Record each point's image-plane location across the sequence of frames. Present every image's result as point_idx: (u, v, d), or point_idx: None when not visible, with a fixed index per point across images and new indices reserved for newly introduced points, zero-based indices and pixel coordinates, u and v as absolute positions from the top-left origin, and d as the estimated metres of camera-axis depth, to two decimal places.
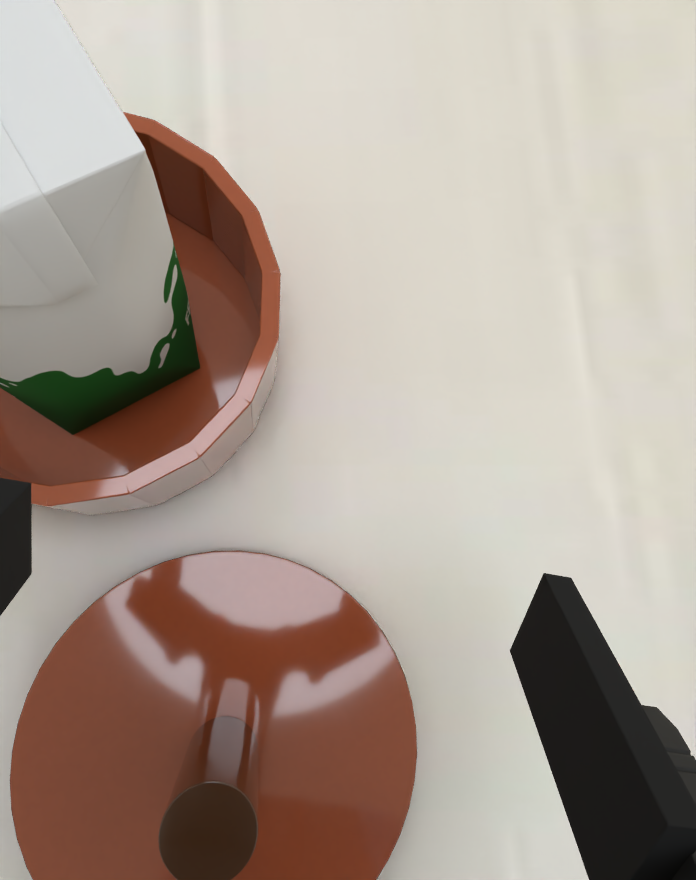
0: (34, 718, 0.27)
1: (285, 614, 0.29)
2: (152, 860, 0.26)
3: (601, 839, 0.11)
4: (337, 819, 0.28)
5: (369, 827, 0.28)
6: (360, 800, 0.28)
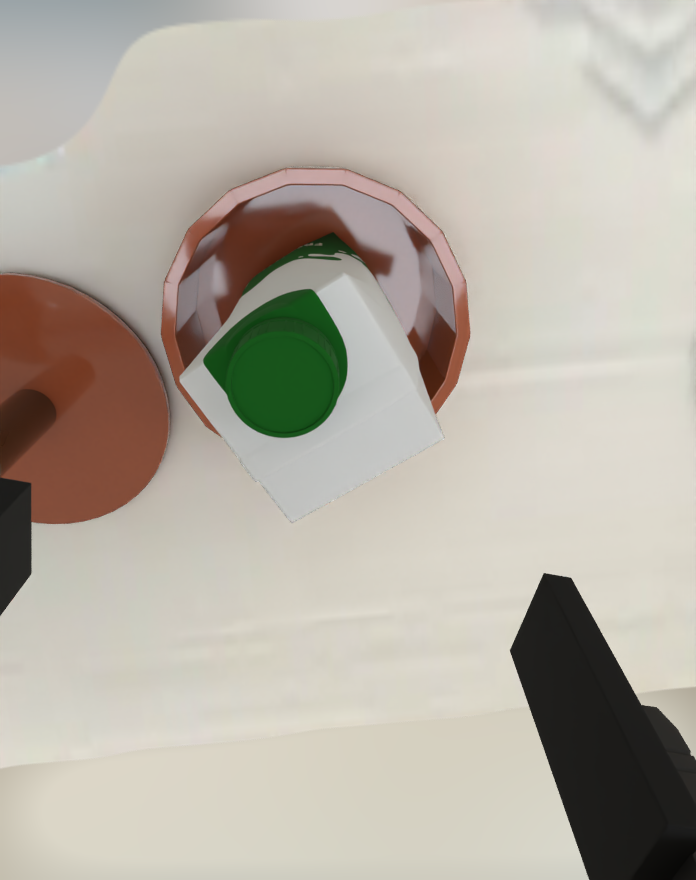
0: (32, 287, 0.38)
1: (128, 445, 0.42)
2: None
3: (600, 838, 0.11)
4: None
5: None
6: None
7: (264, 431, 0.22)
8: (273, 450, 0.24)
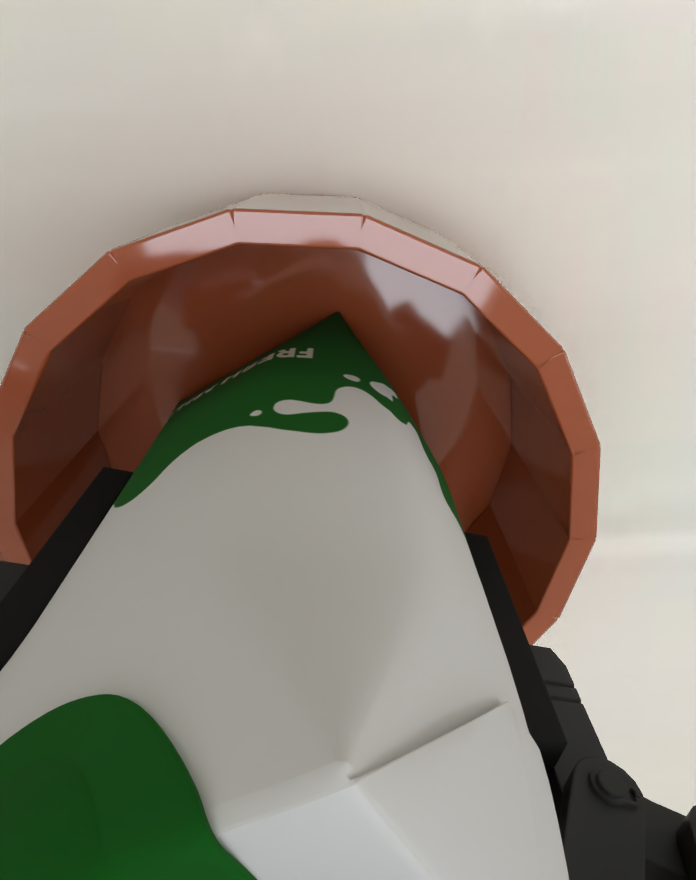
0: None
1: None
2: None
3: None
4: None
5: None
6: None
7: None
8: None
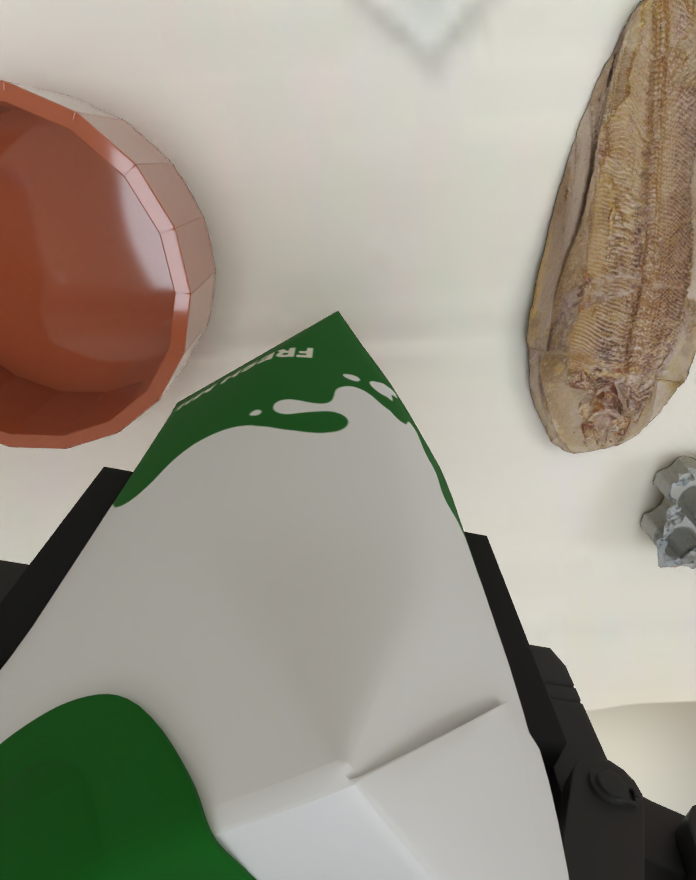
0: None
1: None
2: None
3: None
4: None
5: None
6: None
7: None
8: None
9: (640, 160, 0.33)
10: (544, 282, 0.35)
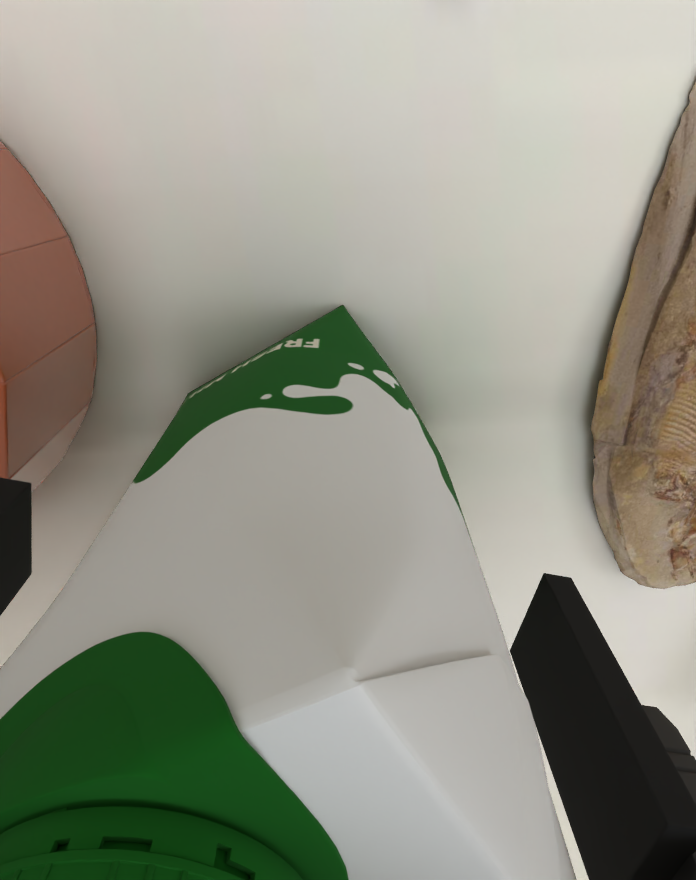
0: None
1: None
2: None
3: (601, 839, 0.11)
4: None
5: None
6: None
7: None
8: None
9: None
10: (623, 340, 0.22)
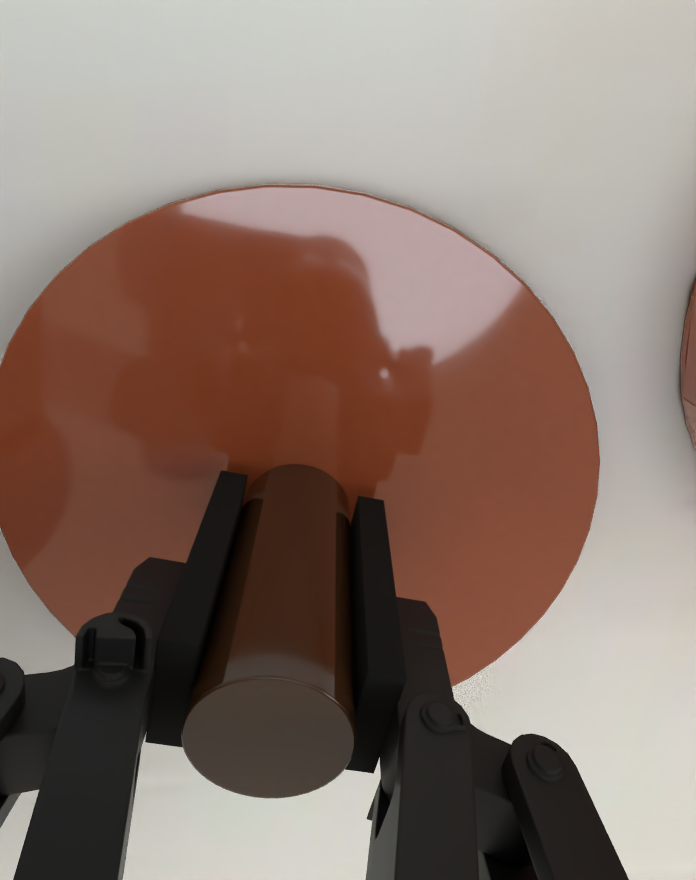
0: (369, 224, 0.15)
1: (484, 586, 0.20)
2: (145, 419, 0.17)
3: None
4: None
5: None
6: None
7: None
8: None
9: None
10: None
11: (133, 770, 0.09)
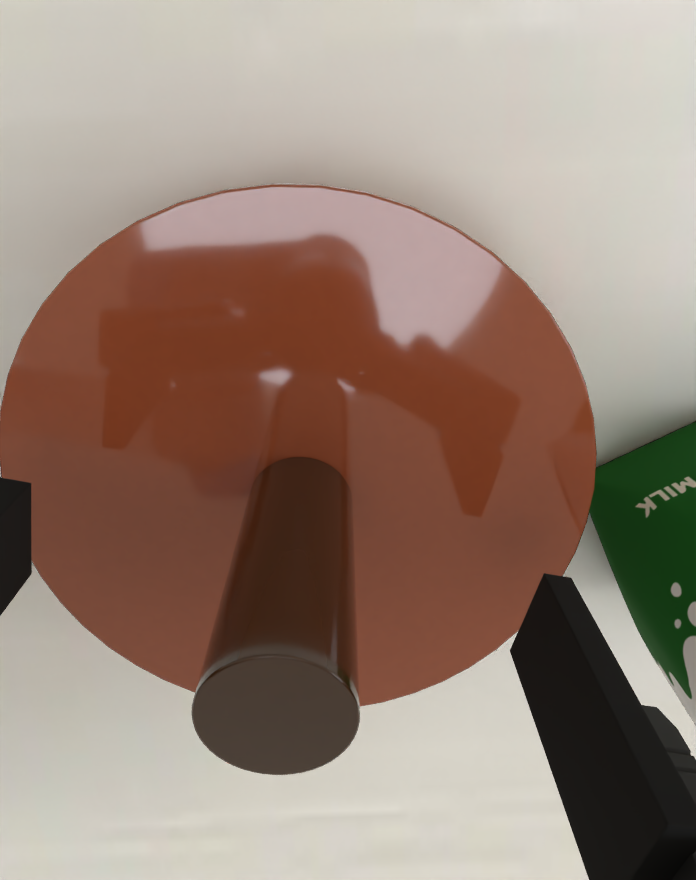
0: (372, 222, 0.15)
1: (484, 577, 0.20)
2: (153, 412, 0.17)
3: (601, 838, 0.11)
4: (211, 631, 0.21)
5: (202, 663, 0.21)
6: None
7: None
8: None
9: None
10: None
11: None
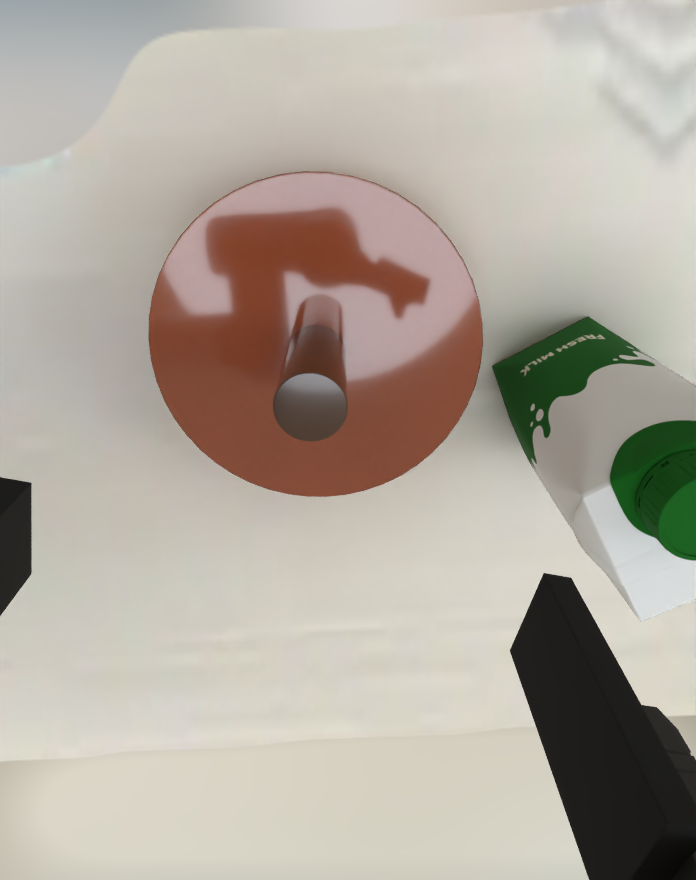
0: (355, 191, 0.30)
1: (422, 402, 0.34)
2: (236, 297, 0.32)
3: (601, 839, 0.11)
4: (262, 439, 0.35)
5: (256, 461, 0.36)
6: (275, 455, 0.36)
7: (680, 554, 0.24)
8: (649, 560, 0.26)
9: None
10: None
11: None
